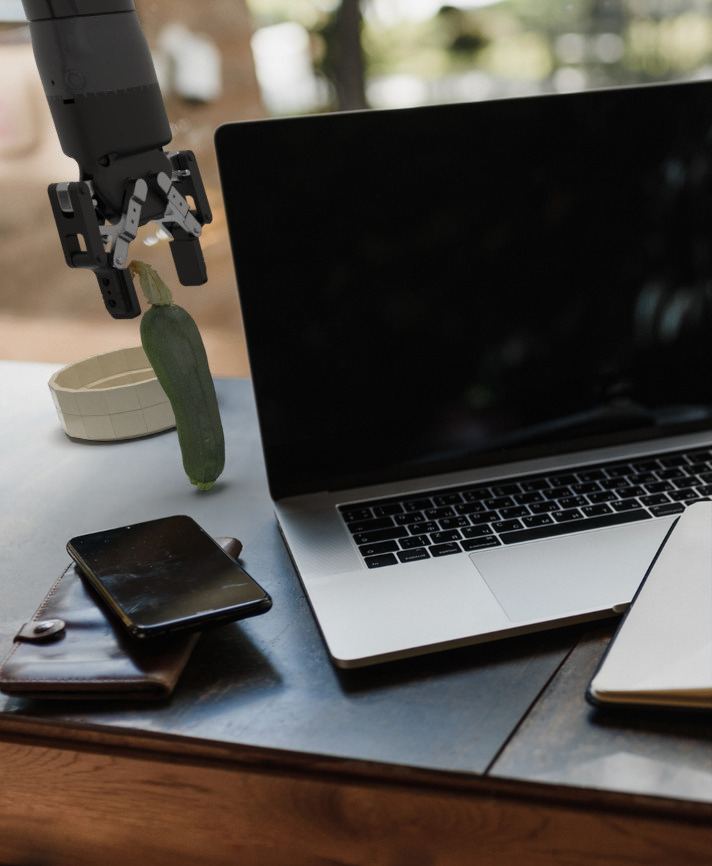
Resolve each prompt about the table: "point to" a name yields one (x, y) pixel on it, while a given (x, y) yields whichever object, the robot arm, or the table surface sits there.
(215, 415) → the vegetable
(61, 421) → the bowl
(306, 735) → the table surface
